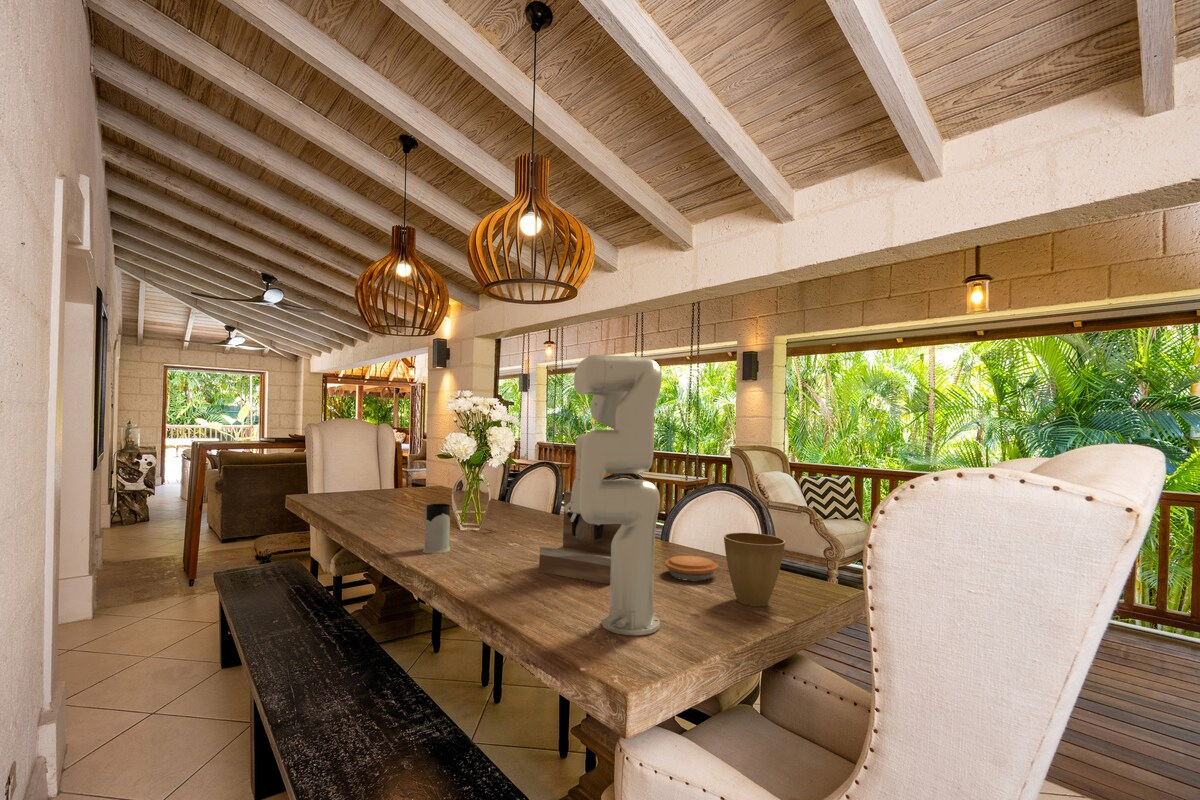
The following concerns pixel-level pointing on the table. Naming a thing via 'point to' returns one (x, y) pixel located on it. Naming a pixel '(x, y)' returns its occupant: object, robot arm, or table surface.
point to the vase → (585, 533)
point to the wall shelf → (579, 554)
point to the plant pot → (753, 565)
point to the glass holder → (437, 528)
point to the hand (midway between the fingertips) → (586, 536)
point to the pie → (691, 567)
